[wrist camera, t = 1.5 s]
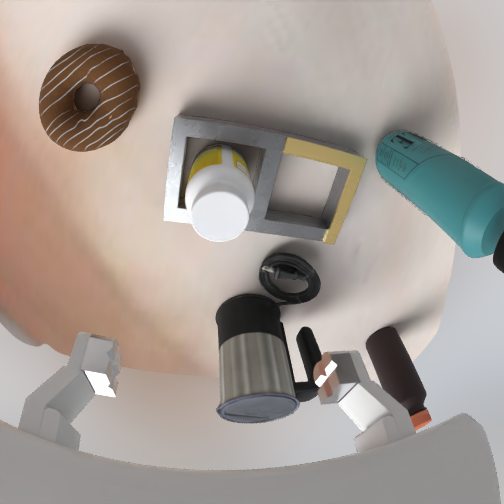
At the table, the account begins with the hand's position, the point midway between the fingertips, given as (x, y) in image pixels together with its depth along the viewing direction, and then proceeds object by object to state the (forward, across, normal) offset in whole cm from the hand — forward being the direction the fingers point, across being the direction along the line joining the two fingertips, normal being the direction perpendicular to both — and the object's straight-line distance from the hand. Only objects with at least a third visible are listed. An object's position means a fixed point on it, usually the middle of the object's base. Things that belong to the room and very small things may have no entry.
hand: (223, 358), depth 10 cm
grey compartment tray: (+20, -4, 0) cm, 21 cm away
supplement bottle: (+21, 0, 0) cm, 21 cm away
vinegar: (+21, -34, +25) cm, 47 cm away
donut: (+21, +14, -7) cm, 26 cm away
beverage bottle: (+21, -18, -6) cm, 28 cm away
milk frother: (+21, -8, +16) cm, 28 cm away
